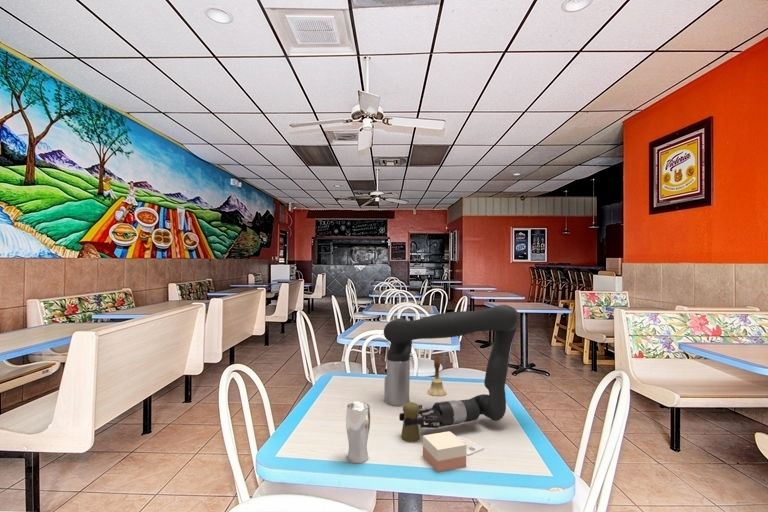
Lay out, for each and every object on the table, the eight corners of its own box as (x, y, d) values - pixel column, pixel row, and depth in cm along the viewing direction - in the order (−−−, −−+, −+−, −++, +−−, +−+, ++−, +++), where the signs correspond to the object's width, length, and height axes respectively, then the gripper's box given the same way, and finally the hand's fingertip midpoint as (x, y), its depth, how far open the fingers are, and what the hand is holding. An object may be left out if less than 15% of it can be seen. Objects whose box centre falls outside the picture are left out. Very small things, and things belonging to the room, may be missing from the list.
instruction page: (444, 442, 122) (444, 441, 122) (459, 436, 126) (459, 435, 126) (468, 455, 114) (468, 454, 114) (483, 449, 118) (483, 447, 118)
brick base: (422, 456, 113) (422, 435, 113) (449, 451, 116) (449, 431, 116) (437, 472, 105) (437, 450, 105) (466, 466, 108) (466, 444, 108)
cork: (419, 443, 121) (419, 407, 121) (399, 441, 122) (400, 406, 122) (420, 434, 127) (421, 400, 127) (402, 432, 128) (402, 399, 128)
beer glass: (373, 454, 114) (373, 403, 114) (364, 466, 107) (365, 412, 107) (351, 450, 116) (352, 400, 116) (341, 461, 109) (342, 408, 109)
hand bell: (423, 391, 169) (423, 354, 169) (438, 388, 172) (439, 352, 173) (434, 397, 161) (435, 359, 161) (450, 394, 165) (451, 357, 165)
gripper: (439, 394, 136) (394, 400, 130) (460, 409, 123) (411, 416, 117) (439, 416, 136) (393, 422, 130) (460, 433, 123) (411, 441, 117)
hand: (402, 419), depth 124 cm, fingers closed on cork, 3 cm apart
